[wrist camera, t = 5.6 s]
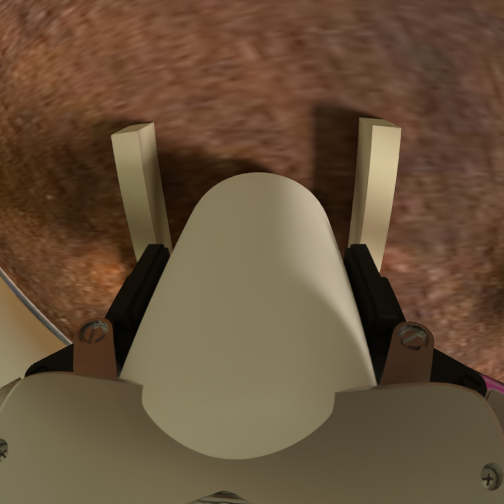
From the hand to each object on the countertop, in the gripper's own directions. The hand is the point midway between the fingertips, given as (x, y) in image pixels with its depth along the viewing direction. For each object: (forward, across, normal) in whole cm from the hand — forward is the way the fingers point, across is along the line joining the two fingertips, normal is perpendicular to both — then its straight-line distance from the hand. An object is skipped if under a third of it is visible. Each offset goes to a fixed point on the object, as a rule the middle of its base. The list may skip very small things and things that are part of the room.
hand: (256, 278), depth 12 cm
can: (+3, 0, 0) cm, 3 cm away
